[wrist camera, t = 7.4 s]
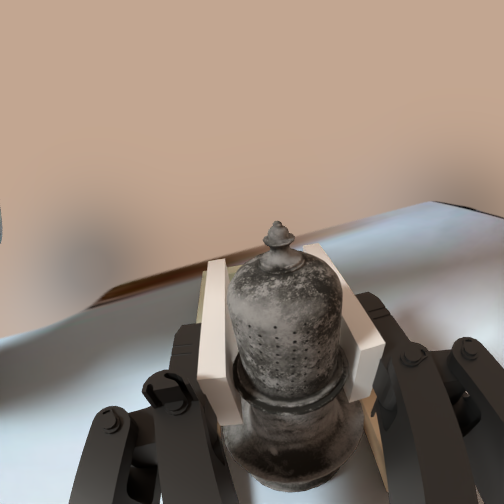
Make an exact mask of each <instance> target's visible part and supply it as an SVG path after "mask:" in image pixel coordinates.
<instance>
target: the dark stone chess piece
mask: <svg viewBox="0 0 504 504" xmlns="http://www.w3.org/2000/svg"><path fill="white" fill-rule="evenodd" d="M294 239H295V236H294V235H293V234H290V233H289V231H288V229H287V228H286V227H285V226H282V223H281V222H279V221H275V222H274V223H273V226H272V227H271V228H270V229H269V231H268V235H267V236H265V237H264V239H263V242H264V243H265V244H266V245H267V246H269V247H270V251H268V252H266V253H263V254H260V255H258V256H256V257H254V258H253V259H251V260H249V261H248V262H246V263H245V264H243V265H242V266H241V267H240V268H239V269H238V270H237V272H236V273H235V275H234V277H233V278H232V280H231V282H230V284H229V286H228V292H227V306H228V310H229V314H230V318H231V322H232V326H233V330H234V334H235V338H236V342H237V346H238V350H239V352H238V354H237V356H236V358H235V360H234V363H233V380H234V384H235V387H236V389H237V390H238V392H239V393H240V395H241V402H242V415H243V424H237V425H226V426H223V435H224V440H225V444H226V447H227V448H228V450H229V452H230V454H231V455H232V457H233V459H234V460H235V461H236V462H237V463H238V464H239V465H240V466H241V467H243V468H244V469H245V470H246V471H247V472H249V473H251V474H252V476H253V477H254V478H255V479H256V480H258V481H259V482H260V483H261V484H262V485H264V486H267V487H269V488H271V489H274V490H277V491H283V492H301V491H306V490H309V489H312V488H315V487H318V486H320V485H321V484H323V483H324V482H326V481H328V480H329V479H330V478H331V477H332V476H333V475H334V474H335V473H336V472H337V471H338V470H339V468H340V466H341V465H343V464H344V463H345V462H346V461H347V460H348V458H349V457H350V456H351V455H352V454H353V452H354V451H355V450H356V448H357V446H358V444H359V441H360V439H361V437H362V434H363V429H364V413H363V409H362V405H361V402H360V401H359V400H357V401H353V402H350V403H349V401H348V398H347V396H346V393H345V391H344V388H343V387H344V385H345V383H346V380H347V378H348V368H349V363H348V359H347V357H346V354H345V352H344V350H343V348H342V347H341V346H340V344H339V339H340V328H341V316H342V301H343V291H342V287H341V282H340V280H339V278H338V276H337V274H336V273H335V272H334V270H333V269H332V268H331V267H330V266H329V265H328V264H327V263H326V262H325V261H324V260H322V259H320V258H318V257H316V256H314V255H311V254H308V253H305V252H302V251H297V250H294V249H291V248H290V247H289V245H290V244H291V243H292V242H293V241H294Z"/></svg>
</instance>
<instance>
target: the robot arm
mask: <svg viewBox="0 0 504 504" xmlns="http://www.w3.org/2000/svg"><path fill="white" fill-rule="evenodd" d="M1 240H2V218H1V209H0V243H1ZM303 252H305V253H308V254H311V255H314V256H316V257H318V258H320V259H322V260H324V261H325V262H326V263H327V264H328V265H329V266H330V267H331V268H332V269H333V270H334V272H335V273H336V274H337V276H338V278H339V280H340V282H341V287H342V291H343V301H342V316H341V328H340V339H339V344H340V346H341V347H342V348H343V350H344V352H345V354H346V357H347V359H348V363H349V368H348V378H347V380H346V383H345V385H344V387H343V388H344V391H345V393H346V396H347V398H348V401H349V403H350V402H353V401H357V400H360V399H363V398H366V397H369V396H370V394H371V391H372V388H373V389H374V391H375V394H376V396H377V398H376V401H375V403H374V406H373V408H372V411H371V417H374V415H375V413H376V414H377V420H378V425H379V430H380V436H381V442H382V448H383V454H384V460H385V467H386V475H387V483H388V492H389V502H390V504H478V499H477V494H476V488H475V485H476V487H477V489H478V491H479V493H480V495H481V497H482V499H483V502H484V504H504V369H503V368H502V366H501V365H500V364H499V363H498V362H497V361H496V359H495V358H494V357H493V356H492V355H491V354H490V353H489V351H488V350H487V349H486V348H485V347H484V346H483V345H482V344H481V343H480V342H479V341H477V340H476V339H473V338H471V337H463V338H460V339H458V340H457V341H456V342H454V344H453V347H452V349H451V350H442V351H428V350H427V348H426V347H424V346H423V345H421V344H418V343H415V342H411V341H410V340H409V339H408V337H407V336H406V335H405V333H404V332H403V330H402V329H401V328H400V326H399V325H398V323H397V322H396V321H395V319H394V318H393V316H392V315H390V312H389V311H388V310H387V308H385V306H384V304H383V303H382V302H381V300H380V299H379V298H378V297H376V296H375V295H373V294H371V293H370V292H365V293H361V294H357V295H354V293H353V292H352V290H351V289H350V287H349V286H348V284H347V283H346V281H345V280H344V279H343V277H342V276H341V274H340V273H339V271H338V270H337V268H336V267H335V266H334V264H333V263H332V261H331V260H330V258H329V257H328V256H327V254H326V253H325V251H324V250H323V249H322V247H321V246H320V244H319V243H317V244H311V245H305V246H303ZM229 284H230V280H229V276H228V271H227V266H226V261H225V259H219V260H213V261H208V268H207V277H206V286H205V295H204V304H203V314H202V323H196V324H188V325H182V326H181V327H180V329H179V330H178V332H177V333H176V334H175V338H174V343H173V348H172V354H171V355H172V356H171V359H170V365H169V370H162V371H159V372H156V373H155V374H153V375H152V376H150V377H149V378H148V379H147V381H146V382H145V383H144V385H143V389H142V393H143V395H144V396H145V398H146V399H147V400H148V402H149V403H150V404H151V406H150V407H148V408H145V409H141V410H138V411H134V412H130V413H127V412H126V411H125V410H124V409H123V408H121V407H118V406H109V407H106V408H104V409H102V410H101V411H100V412H98V413H97V414H96V416H95V418H94V420H93V422H92V425H91V428H90V431H89V434H88V437H87V440H86V443H85V446H84V449H83V452H82V456H81V459H80V462H79V466H78V469H77V473H76V476H75V480H74V484H73V488H72V492H71V496H70V500H69V504H160V497H161V493H162V500H163V504H239V501H238V498H237V495H236V492H235V488H234V485H233V482H232V478H231V475H230V471H229V468H228V464H227V460H226V457H225V453H224V449H223V445H222V441H221V438H220V436H219V434H218V432H217V421H218V422H219V424H220V426H226V425H237V424H243V415H242V402H241V395H240V393H239V392H238V390H237V389H236V387H235V384H234V380H233V363H234V360H235V358H236V356H237V354H238V346H237V342H236V338H235V334H234V330H233V326H232V322H231V318H230V314H229V310H228V306H227V292H228V286H229ZM465 391H467V392H468V394H467V393H466V392H465Z"/></svg>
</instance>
